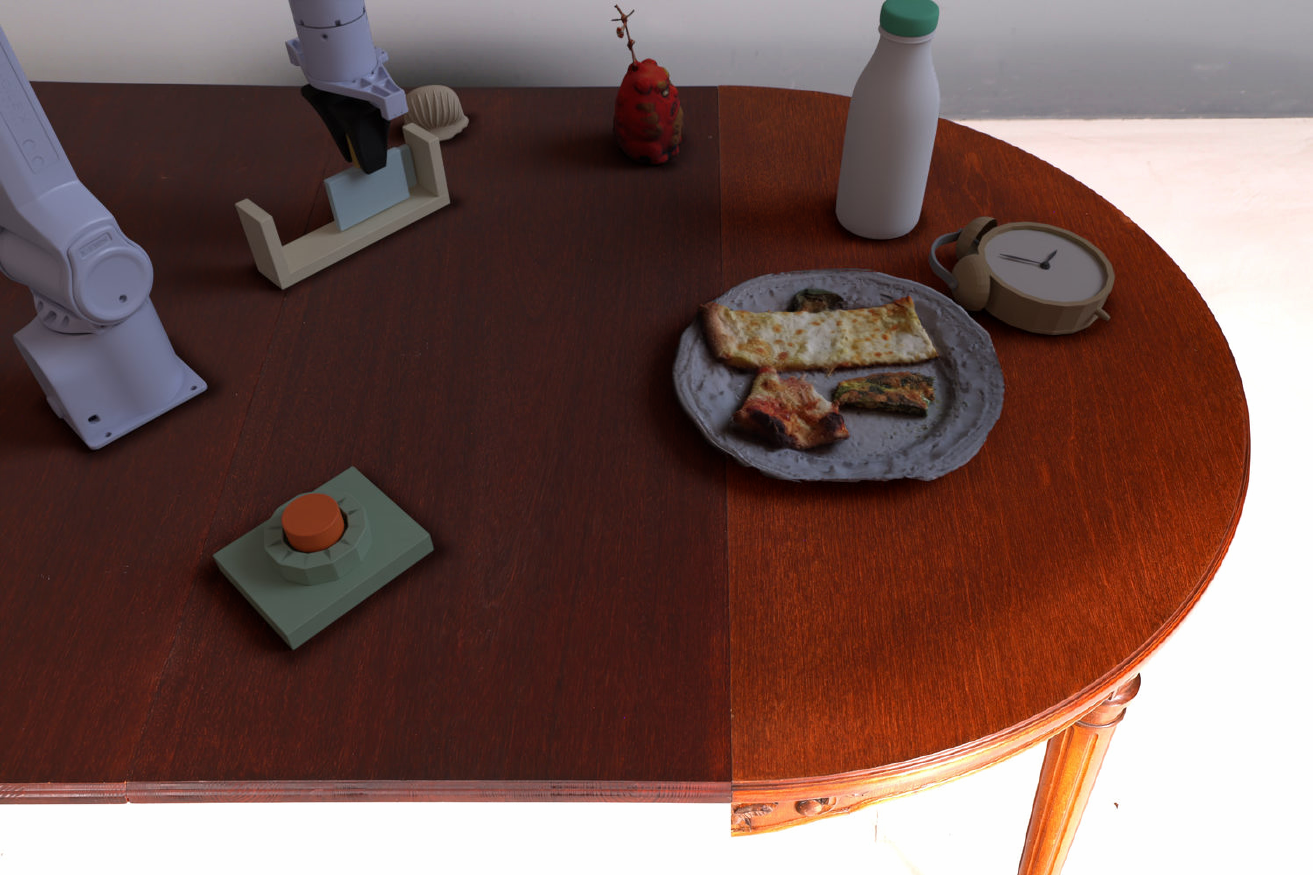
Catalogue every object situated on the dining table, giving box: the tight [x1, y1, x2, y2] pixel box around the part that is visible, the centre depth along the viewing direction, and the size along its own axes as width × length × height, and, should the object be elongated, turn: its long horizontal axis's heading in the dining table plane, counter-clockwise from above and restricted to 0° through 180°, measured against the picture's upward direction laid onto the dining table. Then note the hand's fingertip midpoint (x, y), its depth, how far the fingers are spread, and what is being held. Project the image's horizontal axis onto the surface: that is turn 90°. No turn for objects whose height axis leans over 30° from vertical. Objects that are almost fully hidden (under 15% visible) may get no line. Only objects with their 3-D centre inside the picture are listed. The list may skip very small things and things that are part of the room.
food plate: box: [671, 267, 1007, 483], centre depth 80 cm, size 25×23×4 cm
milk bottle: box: [835, 0, 941, 240], centre depth 90 cm, size 8×8×20 cm
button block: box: [212, 465, 435, 651], centre depth 69 cm, size 11×9×4 cm
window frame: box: [234, 123, 451, 291], centre depth 94 cm, size 18×4×7 cm, turn 136°
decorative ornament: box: [402, 84, 470, 142], centre depth 107 cm, size 4×8×5 cm, turn 104°
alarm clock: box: [928, 216, 1116, 336], centre depth 88 cm, size 11×5×15 cm
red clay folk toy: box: [610, 3, 684, 166], centre depth 101 cm, size 8×7×15 cm
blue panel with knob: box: [323, 134, 410, 231], centre depth 94 cm, size 8×2×8 cm, turn 136°
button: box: [281, 493, 344, 553], centre depth 68 cm, size 4×4×2 cm
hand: (366, 163), depth 93 cm, fingers closed on blue panel with knob, 2 cm apart
